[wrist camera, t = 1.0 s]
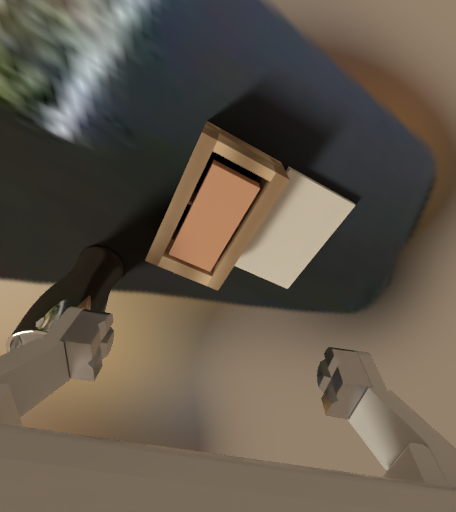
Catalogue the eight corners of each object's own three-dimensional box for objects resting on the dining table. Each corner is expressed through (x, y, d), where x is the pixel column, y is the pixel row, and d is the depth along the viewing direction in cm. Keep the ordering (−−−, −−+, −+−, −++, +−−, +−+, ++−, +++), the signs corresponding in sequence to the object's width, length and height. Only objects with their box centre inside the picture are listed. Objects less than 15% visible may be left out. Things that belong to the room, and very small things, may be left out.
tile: (172, 241, 35) (168, 254, 32) (214, 156, 29) (212, 163, 27) (211, 258, 36) (210, 271, 33) (258, 179, 30) (260, 188, 28)
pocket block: (156, 234, 38) (145, 260, 33) (207, 120, 30) (201, 131, 25) (219, 262, 40) (218, 290, 35) (281, 162, 33) (289, 179, 28)
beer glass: (67, 267, 41) (-7, 358, 28) (88, 233, 38) (16, 317, 25) (113, 292, 43) (64, 386, 31) (137, 261, 40) (93, 352, 28)
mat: (230, 259, 40) (229, 263, 39) (288, 166, 33) (290, 168, 32) (286, 284, 42) (287, 289, 41) (352, 201, 35) (355, 205, 34)
